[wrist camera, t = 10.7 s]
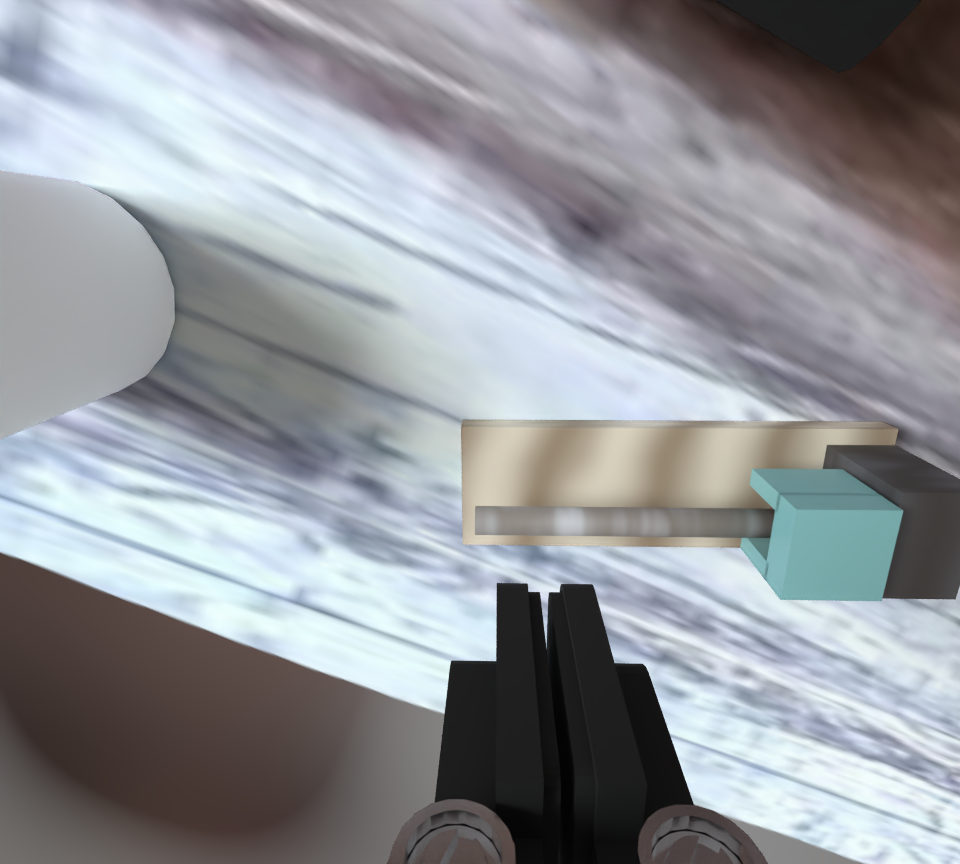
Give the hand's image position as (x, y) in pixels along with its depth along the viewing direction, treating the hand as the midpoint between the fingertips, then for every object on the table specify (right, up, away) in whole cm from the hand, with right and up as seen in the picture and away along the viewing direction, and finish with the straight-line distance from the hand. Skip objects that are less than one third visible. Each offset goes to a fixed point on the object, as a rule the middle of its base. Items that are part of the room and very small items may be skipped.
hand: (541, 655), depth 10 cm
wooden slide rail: (+11, +1, +28) cm, 30 cm away
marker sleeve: (+17, -1, +24) cm, 29 cm away
